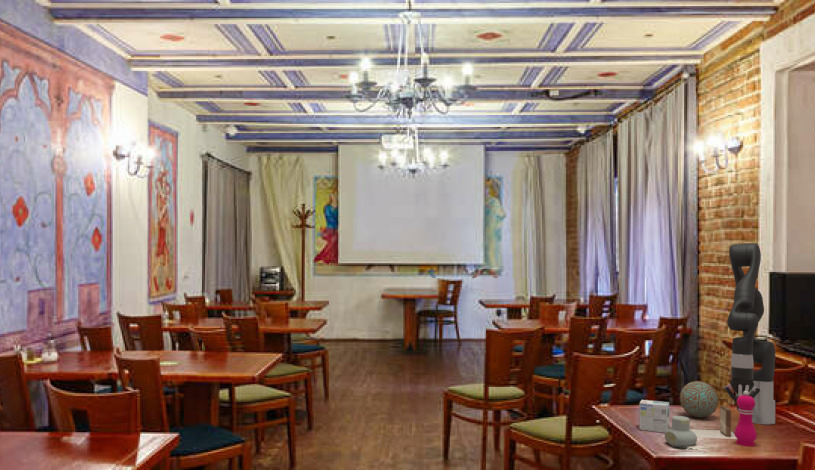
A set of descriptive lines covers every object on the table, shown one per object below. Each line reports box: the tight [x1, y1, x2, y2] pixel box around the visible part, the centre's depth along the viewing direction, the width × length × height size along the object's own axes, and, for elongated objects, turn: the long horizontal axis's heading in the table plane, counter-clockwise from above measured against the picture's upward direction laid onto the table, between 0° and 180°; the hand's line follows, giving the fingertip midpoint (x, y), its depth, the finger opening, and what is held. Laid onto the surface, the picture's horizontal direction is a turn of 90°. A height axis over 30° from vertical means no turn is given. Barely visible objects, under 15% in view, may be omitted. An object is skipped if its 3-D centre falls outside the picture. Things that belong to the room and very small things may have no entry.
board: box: [690, 428, 738, 440], centre depth 271 cm, size 20×12×1 cm, turn 84°
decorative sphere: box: [679, 380, 719, 419], centre depth 303 cm, size 15×15×15 cm
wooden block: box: [719, 405, 732, 437], centre depth 270 cm, size 2×7×10 cm, turn 174°
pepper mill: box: [734, 391, 758, 447], centre depth 258 cm, size 7×7×20 cm
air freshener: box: [664, 415, 698, 449], centre depth 258 cm, size 11×8×10 cm
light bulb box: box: [638, 399, 670, 434], centre depth 281 cm, size 11×7×11 cm, turn 65°
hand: (741, 412), depth 270 cm, fingers closed
